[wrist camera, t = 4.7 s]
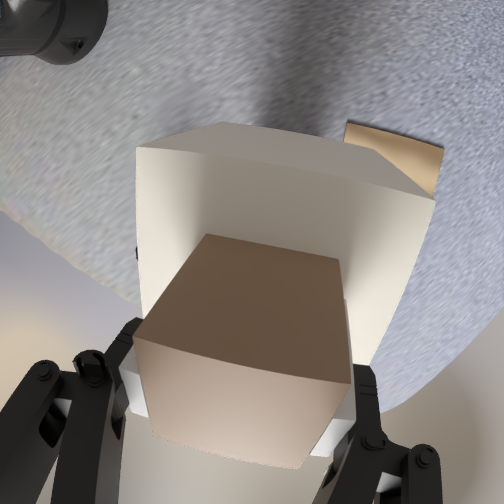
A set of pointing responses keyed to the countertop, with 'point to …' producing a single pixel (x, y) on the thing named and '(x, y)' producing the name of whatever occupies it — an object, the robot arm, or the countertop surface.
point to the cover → (264, 282)
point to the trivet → (401, 153)
